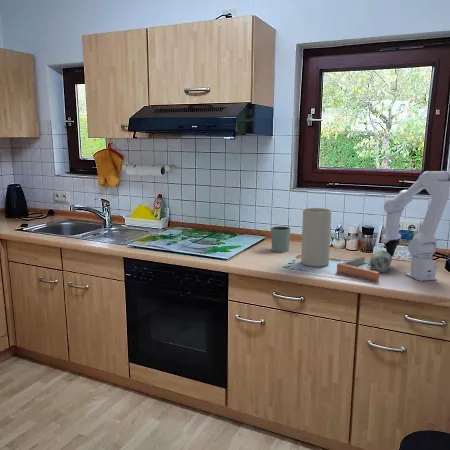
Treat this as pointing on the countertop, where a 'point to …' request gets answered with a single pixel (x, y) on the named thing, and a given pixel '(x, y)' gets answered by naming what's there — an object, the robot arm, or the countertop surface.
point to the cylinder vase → (316, 237)
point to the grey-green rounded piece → (380, 261)
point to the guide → (357, 270)
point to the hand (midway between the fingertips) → (390, 256)
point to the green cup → (280, 238)
